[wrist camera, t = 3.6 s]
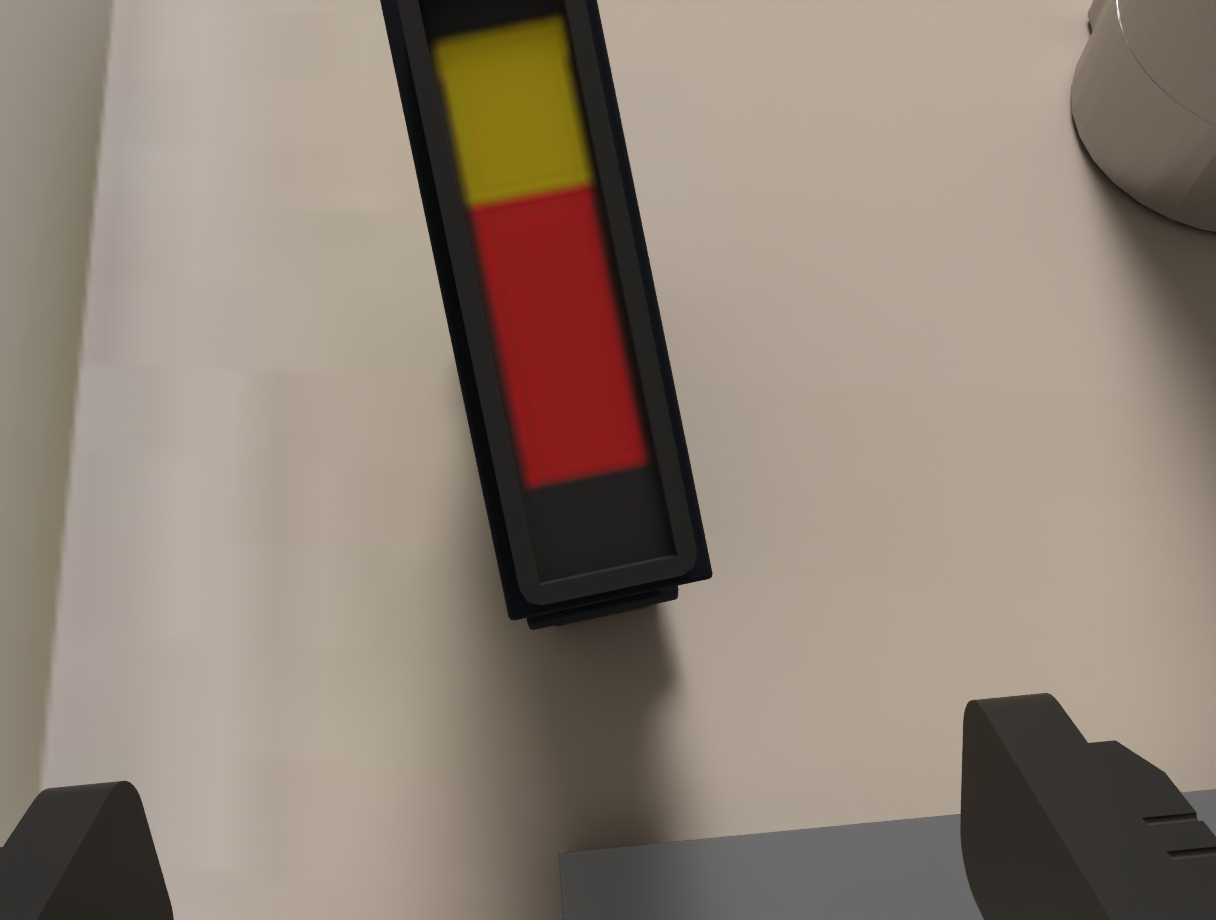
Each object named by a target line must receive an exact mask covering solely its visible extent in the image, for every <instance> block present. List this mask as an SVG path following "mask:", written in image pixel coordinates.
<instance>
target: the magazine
mask: <svg viewBox="0 0 1216 920" xmlns="http://www.w3.org/2000/svg"><path fill="white" fill-rule="evenodd" d="M380 1H381V6H382V11H383V16H384V20H385V25H386V30H387V35H388V40H389V44H390V49H391V54H392V59H393V64H394V68H395V73H396V78H397V83H398V88H399V92H400V97H401V102H402V107H403V112H404V116H405V121H406V126H407V131H408V136H409V140H410V145H411V150H412V155H413V160H414V164H415V169H416V174H417V179H418V184H419V188H420V193H421V198H422V203H423V208H424V212H425V217H426V222H427V227H428V232H429V236H430V241H431V246H432V251H433V256H434V260H435V265H436V270H437V275H438V280H439V284H440V289H441V294H442V299H443V304H444V308H445V313H446V318H447V323H448V328H449V332H450V337H451V342H452V347H453V352H454V356H455V361H456V366H457V371H458V376H459V380H460V385H461V390H462V395H463V400H464V404H465V409H466V414H467V419H468V424H469V428H470V433H471V438H472V443H473V448H474V452H475V457H476V462H477V467H478V472H479V476H480V481H481V486H482V491H483V496H484V500H485V505H486V510H487V515H488V520H489V524H490V529H491V534H492V539H493V544H494V548H495V553H496V558H497V563H498V568H499V573H500V577H501V582H502V587H503V592H504V597H505V601H506V606H507V611H508V616H509V618H510V619H511V620H518V619H523V618H527V622H528V625H529V628H530V629H531V630H535V629H540V628H544V627H549V626H554V625H556V626H560V625H565V624H569V623H574V622H579V621H583V620H588V619H593V618H597V617H602V616H607V615H611V614H616V613H621V612H625V611H630V610H635V609H639V608H644V607H649V606H650V605H652V604H657V603H661V602H666V601H671V600H675V599H677V598H678V585H682V584H687V583H692V582H696V581H701V580H706V579H709V578H711V577H712V569H711V564H710V559H709V554H708V549H707V544H706V539H705V534H704V529H703V524H702V519H701V514H700V509H699V504H698V499H697V494H696V489H695V484H694V480H693V475H692V470H691V465H690V460H689V455H688V450H687V445H686V440H685V435H684V430H683V425H682V420H681V415H680V410H679V405H678V400H677V395H676V390H675V385H674V380H673V375H672V371H671V366H670V361H669V356H668V351H667V346H666V341H665V336H664V331H663V326H662V321H661V316H660V311H659V306H658V301H657V296H656V291H655V286H654V281H653V276H652V271H651V267H650V262H649V257H648V252H647V247H646V242H645V237H644V232H643V227H642V222H641V217H640V212H639V207H638V202H637V197H636V192H635V187H634V182H633V177H632V172H631V167H630V162H629V158H628V153H627V148H626V143H625V138H624V133H623V128H622V123H621V118H620V113H619V108H618V103H617V98H616V93H615V88H614V83H613V78H612V73H611V68H610V63H609V58H608V53H607V49H606V44H605V39H604V34H603V29H602V24H601V19H600V14H599V9H598V4H597V0H380Z"/></svg>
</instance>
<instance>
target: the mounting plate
mask: <svg viewBox="0 0 1216 920" xmlns="http://www.w3.org/2000/svg"><path fill="white" fill-rule="evenodd" d="M1182 795H1183V796H1184V797H1185V798H1186V800H1187V801H1188V802H1189V803H1190V805H1191V806H1192V807H1193V809H1194V810H1195V811H1196V812H1197V818H1198V820H1199V821H1201V820H1203V821H1204V822H1205V824H1206V825H1207V826H1208V827H1209V829H1210V830H1211V831H1212V832H1213V834H1214V835H1215V836H1216V789H1214V790H1203V791H1193V792H1183V793H1182ZM960 820H961V814H955V815H945V816H935V817H924V818H914V819H904V820H893V821H883V822H873V823H862V824H852V825H842V826H831V827H821V828H811V829H800V830H790V831H780V832H769V833H759V834H749V835H738V836H728V837H718V838H707V839H697V840H687V841H676V842H666V843H656V844H645V845H635V846H625V847H614V848H604V849H594V850H583V851H573V852H563V853H559V865H560V880H561V895H562V909H563V920H984V919H983V917H982V915H981V913H980V910H979V908H978V906H977V904H976V902H975V899H974V897H973V895H972V892H971V889H970V886H969V882H968V879H967V875H966V871H965V866H964V861H963V855H962V848H961V836H960Z"/></svg>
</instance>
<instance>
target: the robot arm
mask: <svg viewBox="0 0 1216 920" xmlns="http://www.w3.org/2000/svg"><path fill="white" fill-rule="evenodd" d="M1088 18H1089V21H1090V24H1091V27H1092V34H1091V36H1090V38H1089V40H1088V42H1087V44H1086V46H1085V49H1084V51H1083V53H1082V55H1081V57H1080V59H1079V61H1078V63H1077V66H1076V70H1075V74H1074V78H1073V82H1072V86H1071V99H1072V114H1073V117H1074V120H1075V123H1076V127H1077V130H1078V133H1079V137H1080V138H1081V140H1082V142H1083V143H1084V145H1085V147H1086V149H1087V150H1088V152H1089V154H1090V155H1091V157H1092V159H1093V161H1094V162H1095V163H1096V164H1097V165H1098V166H1099V167H1100V168H1101V169H1102V171H1103V172H1104V173H1105V174H1106V175H1107V176H1108V177H1109V178H1110V179H1111V181H1112V182H1113V183H1114V184H1116V185H1117V186H1118V187H1120V188H1121V189H1122V190H1123V191H1125V192H1126V193H1127V194H1129V195H1130V196H1131V197H1133V198H1134V199H1135V200H1137V201H1138V202H1139V203H1141V204H1143V205H1145V206H1146V207H1148V208H1150V209H1152V210H1154V211H1156V212H1158V213H1160V214H1162V215H1164V216H1166V217H1167V218H1169V219H1172V220H1175V221H1178V222H1181V223H1184V224H1187V225H1190V226H1193V227H1196V228H1199V229H1202V230H1207V231H1214V232H1216V0H1093V2H1092V4H1091V7H1090V9H1089V11H1088ZM960 836H961V848H962V855H963V861H964V866H965V871H966V875H967V879H968V882H969V886H970V889H971V892H972V895H973V897H974V899H975V902H976V904H977V906H978V908H979V910H980V913H981V915H982V917H983V919H984V920H1216V836H1215V835H1214V834H1213V832H1212V831H1211V830H1210V829H1209V827H1208V826H1207V825H1206V824H1205V822H1204V821H1203V820H1201V821H1199V820H1198V818H1197V812H1196V811H1195V810H1194V809H1193V807H1192V806H1191V805H1190V803H1189V802H1188V801H1187V800H1186V798H1185V797H1184V796H1183V795H1182V793H1181V792H1180V791H1179V790H1178V788H1177V787H1176V786H1175V785H1174V783H1173V782H1172V781H1171V780H1170V778H1169V777H1168V776H1167V775H1166V773H1165V772H1163V771H1162V770H1160V769H1159V768H1157V767H1156V766H1154V765H1153V764H1151V763H1149V762H1148V761H1146V760H1145V759H1143V758H1142V757H1140V756H1139V755H1137V754H1136V753H1134V752H1132V751H1131V750H1129V749H1128V748H1126V747H1125V746H1123V745H1122V744H1120V743H1119V742H1117V741H1105V742H1095V743H1088V742H1087V741H1086V740H1085V738H1084V737H1083V735H1082V734H1081V733H1080V731H1079V730H1078V728H1077V727H1076V726H1075V724H1074V723H1073V722H1072V720H1071V719H1070V717H1069V716H1068V715H1067V713H1066V712H1065V711H1064V709H1063V708H1062V706H1061V705H1060V704H1059V702H1058V701H1057V700H1056V699H1055V697H1053V696H1052V695H1051V694H1048V693H1041V694H1031V695H1021V696H1011V697H1001V698H990V699H980V700H971V701H969V702H968V704H967V705H966V708H965V712H964V720H963V750H962V785H961V820H960ZM0 920H174V919H173V911H172V906H171V902H170V899H169V895H168V892H167V888H166V885H165V881H164V878H163V874H162V871H161V867H160V864H159V860H158V857H157V853H156V850H155V846H154V843H153V839H152V836H151V832H150V829H149V825H148V822H147V818H146V815H145V811H144V808H143V804H142V801H141V798H140V795H139V793H138V791H137V789H136V788H135V787H134V785H132V784H131V783H130V782H127V781H119V782H109V783H98V784H88V785H78V786H68V787H58V788H48V789H45V790H43V791H42V792H41V793H40V794H38V796H37V797H36V798H35V799H34V801H33V802H32V804H31V806H30V807H29V809H28V810H27V811H26V813H25V814H24V816H23V817H22V819H21V820H20V822H19V823H18V825H17V826H16V828H15V830H14V831H13V832H12V834H11V835H10V837H9V838H8V840H7V842H6V843H5V845H4V846H3V847H0Z"/></svg>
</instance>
